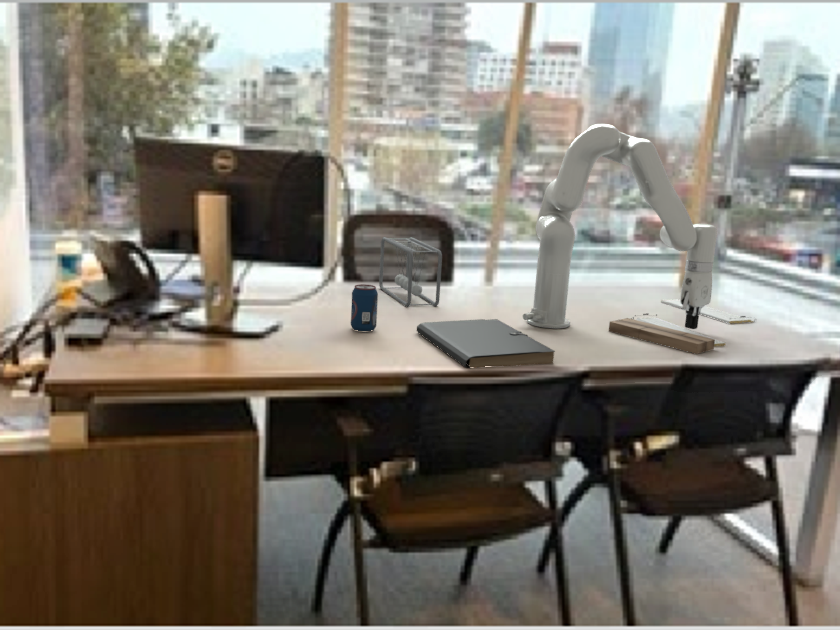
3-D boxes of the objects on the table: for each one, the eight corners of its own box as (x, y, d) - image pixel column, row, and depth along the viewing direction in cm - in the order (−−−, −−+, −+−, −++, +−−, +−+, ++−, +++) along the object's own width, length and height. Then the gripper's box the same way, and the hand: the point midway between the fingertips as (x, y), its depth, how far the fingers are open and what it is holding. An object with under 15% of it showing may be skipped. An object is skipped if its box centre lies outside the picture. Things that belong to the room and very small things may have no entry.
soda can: (349, 326, 234) (350, 283, 231) (374, 326, 235) (376, 284, 233) (352, 332, 227) (354, 288, 225) (378, 333, 229) (380, 289, 226)
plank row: (696, 354, 226) (697, 343, 225) (608, 331, 246) (609, 321, 245) (713, 349, 232) (715, 339, 231) (626, 327, 252) (627, 317, 251)
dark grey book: (556, 349, 209) (466, 355, 200) (554, 365, 210) (465, 372, 201) (497, 317, 239) (416, 321, 230) (496, 331, 240) (416, 336, 231)
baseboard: (696, 349, 233) (725, 348, 237) (698, 339, 233) (726, 338, 237) (629, 322, 260) (656, 322, 264) (630, 313, 260) (657, 313, 263)
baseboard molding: (687, 302, 296) (660, 304, 291) (688, 294, 296) (661, 296, 291) (756, 323, 269) (728, 326, 264) (758, 314, 269) (730, 316, 264)
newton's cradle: (378, 288, 287) (380, 236, 283) (407, 287, 291) (410, 236, 287) (407, 308, 260) (410, 250, 256) (439, 307, 264) (443, 250, 260)
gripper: (697, 271, 240) (689, 334, 244) (723, 266, 250) (715, 327, 254) (673, 266, 245) (666, 328, 249) (700, 262, 255) (692, 322, 259)
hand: (690, 327), depth 252 cm, fingers closed
